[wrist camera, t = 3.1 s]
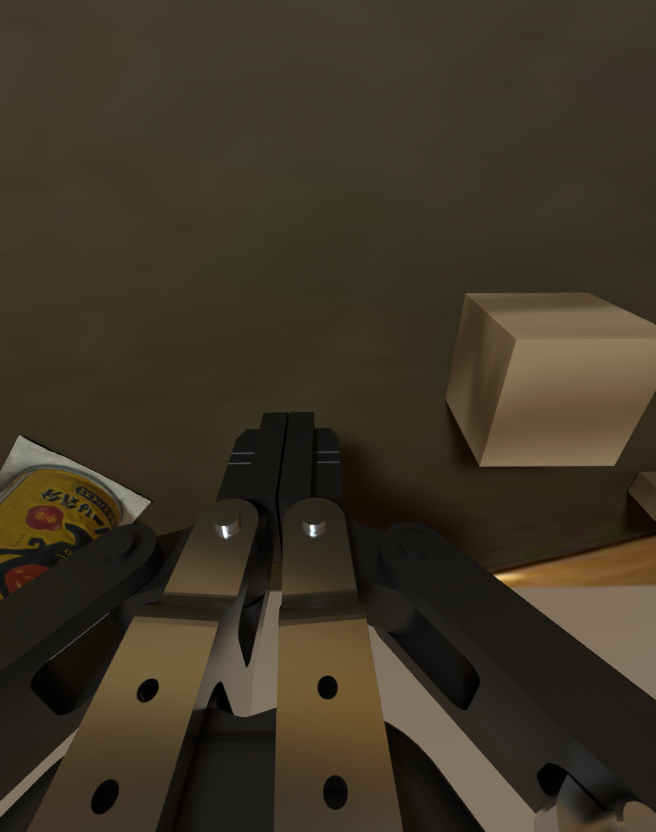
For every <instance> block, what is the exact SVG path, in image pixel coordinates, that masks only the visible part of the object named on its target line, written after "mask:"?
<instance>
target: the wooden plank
mask: <svg viewBox="0 0 656 832" xmlns="http://www.w3.org/2000/svg"><path fill="white" fill-rule="evenodd" d="M628 492H629V493H630V494H631V495H632V497H633V498H634V499H635V500H636V501H637V502H638V503H639V504H640V505H641V506H642V507H643V508H644V509H645V511H646V512H647V513H648V514H649V515H650V516H651V517H652V518H653V519H654V520H655V521H656V472H639V474H638V475H637V477H636V479H635V480H634V482H633V483H632V485H631V487H630V488H629V490H628Z"/></svg>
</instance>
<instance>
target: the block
mask: <svg viewBox="0 0 656 832" xmlns="http://www.w3.org/2000/svg"><path fill="white" fill-rule="evenodd" d="M655 391H656V325H655V324H653V323H651V322H649V321H647V320H644V319H642V318H640V317H638V316H636V315H634V314H632V313H630V312H628V311H626V310H623V309H621V308H619V307H617V306H615V305H613V304H611V303H609V302H607V301H605V300H603V299H600V298H598V297H596V296H594V295H592V294H590V293H466V294H465V299H464V304H463V309H462V315H461V320H460V325H459V330H458V335H457V340H456V345H455V350H454V356H453V361H452V366H451V371H450V376H449V381H448V386H447V391H446V396H445V399H446V401H447V403H448V405H449V407H450V409H451V411H452V413H453V415H454V417H455V419H456V421H457V423H458V425H459V427H460V429H461V431H462V433H463V435H464V437H465V438H466V440H467V442H468V444H469V446H470V448H471V450H472V452H473V454H474V456H475V458H476V460H477V462H478V464H479V466H614V465H615V463H616V461H617V459H618V458H619V456H620V454H621V452H622V450H623V449H624V447H625V445H626V443H627V441H628V440H629V438H630V436H631V434H632V432H633V430H634V429H635V427H636V425H637V423H638V421H639V420H640V418H641V416H642V414H643V412H644V411H645V409H646V407H647V405H648V403H649V402H650V400H651V398H652V396H653V394H654V392H655Z"/></svg>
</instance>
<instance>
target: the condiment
mask: <svg viewBox="0 0 656 832" xmlns="http://www.w3.org/2000/svg"><path fill="white" fill-rule="evenodd" d="M150 503H151V501H149V500H147V499H146V498H143V497H141V496H139V495H137V494H136V493H133V492H132V491H131V490H129V489H126V488H124V487H122V486H121V485H120V484H118V483H116V482H114V481H112V480H110V479H108V478H106V477H104V476H102V475H101V474H99V473H97V472H95V471H93V470H90V469H88V468H86V467H84V466H82V465H80V464H77V463H75V462H74V461H72V460H70V459H68V458H66V457H64V456H61V455H58V454H56V453H54V452H50V451H48V450H46V449H45V448H43V447H41V446H38V445H36V444H34V443H32V442H30V441H28V440H27V439H25V438H23V437H21V436H19V437H18V439H17V441H16V443H15V445H14V447H13V448H12V450H11V453H10V455H9V456H8V458H7V460H6V462H5V464H4V466H3V468H2V470H1V471H0V600H2V599H3V598H5V597H6V596H8V595H9V594H11V593H12V592H14V591H16V590H17V589H19V588H20V587H22V586H23V585H25V584H26V583H28V582H30V581H31V580H33V579H34V578H36V577H37V576H39V575H40V574H42V573H44V572H45V571H47V570H48V569H50V568H51V567H53V566H54V565H56V564H58V563H59V562H61V561H62V560H64V559H65V558H67V557H68V556H70V555H72V554H73V553H75V552H76V551H78V550H79V549H81V548H82V547H84V546H86V545H87V544H89V543H90V542H92V541H93V540H95V539H96V538H98V537H100V536H101V535H103V534H104V533H106V532H108V531H109V530H111V529H114V528H116V527H119V526H122V525H126V524H132V523H133V522H134V521H135V519H136V518H137V517H138V516H139V515H140V514H141V513H142V511H143V510H144V509H145V508H146V507H147V506H148V505H149V504H150Z"/></svg>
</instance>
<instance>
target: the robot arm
mask: <svg viewBox="0 0 656 832" xmlns="http://www.w3.org/2000/svg"><path fill="white" fill-rule="evenodd" d="M282 562H283V565H282V605H281V606H280V609H279V627H278V668H277V669H278V670H277V708H274V709H271V710H268V711H265V712H262V713H259V714H256V715H253V716H250V709H251V700H252V678H253V671H254V666H255V661H256V656H257V651H258V646H259V642H260V637H261V632H262V627H263V622H264V617H265V612H266V608H267V602H268V598H269V592H270V587H269V583H270V577H271V569H272V563H282ZM108 613H109V614H108ZM107 614H108V615H107ZM105 615H107V616H105ZM104 616H105V617H104ZM103 617H104V618H103ZM101 618H103V619H102V620H100V619H101ZM99 620H100V621H99ZM98 621H99V622H98ZM96 622H98V623H97V624H95V623H96ZM94 624H95V625H94ZM93 625H94V626H93ZM367 625H370V626H373V627H374V628H375V631H376V632H377V634H378V635H379V637H380V638H381V639H382V640H383V641H384V642H385V643H386V645H387V646H388V647H389V648H390V649H391V650H392V652H393V653H394V654H395V655H396V656H397V657H398V658H399V659H400V661H402V663H403V664H404V665H405V666H406V667H407V669H408V670H409V671H410V672H411V673H412V674H413V675H414V676H415V678H416V679H417V680H418V681H419V682H420V683H421V684H422V686H423V687H424V688H425V689H426V690H427V691H428V692H429V693H430V695H431V696H432V697H433V698H434V699H435V700H436V701H437V703H438V704H439V705H440V706H441V707H442V708H443V709H444V710H445V712H446V713H447V714H448V715H449V716H450V717H451V718H452V719H453V721H454V722H455V723H456V724H457V725H458V726H459V727H460V729H461V730H462V731H463V732H464V733H465V734H466V735H467V737H469V739H470V740H471V741H472V742H473V743H474V744H475V746H476V747H477V748H478V749H479V750H480V751H481V752H482V754H483V755H484V756H485V757H486V758H487V759H488V760H489V761H490V763H491V764H492V765H493V766H494V767H495V768H496V769H497V770H498V772H499V773H500V774H501V775H502V776H503V777H504V778H505V780H506V781H507V782H508V783H509V784H510V785H511V786H512V788H513V789H514V790H515V791H516V792H517V793H518V794H519V795H520V797H521V798H522V799H523V800H524V801H525V802H526V803H527V804H528V806H529V807H530V808H531V809H532V810H533V811H534V812H535V814H536V817H535V821H534V832H656V700H655V699H653V698H652V697H651V696H650V695H648V694H647V693H646V692H644V691H643V690H642V689H641V688H639V687H638V686H637V685H635V684H634V683H633V682H631V681H630V680H629V679H627V678H626V677H625V676H624V675H622V674H621V673H620V672H618V671H617V670H616V669H614V668H613V667H612V666H610V665H609V664H608V663H607V662H605V661H604V660H603V659H601V658H600V657H599V656H598V655H596V654H595V653H594V652H592V651H591V650H590V649H588V648H587V647H586V646H585V645H583V644H582V643H581V642H579V641H578V640H577V639H575V638H574V637H573V636H572V635H570V634H569V633H567V632H566V631H565V630H564V629H562V628H561V627H560V626H559V625H557V624H556V623H555V622H553V621H552V620H551V619H549V618H548V617H547V616H546V615H544V614H543V613H542V612H540V611H539V610H538V609H536V608H535V607H534V606H532V605H531V604H530V603H529V602H527V601H526V600H525V599H523V598H522V597H521V596H519V595H518V594H517V593H515V592H514V591H513V590H512V589H510V588H509V587H508V586H506V585H505V584H504V583H503V582H501V581H500V580H499V579H497V578H496V577H495V576H493V575H492V574H491V573H490V572H488V571H487V570H486V569H484V568H483V567H482V566H480V565H479V564H478V563H477V562H475V561H474V560H473V559H471V558H470V557H469V556H467V555H466V554H465V553H463V552H462V551H461V550H460V549H458V548H457V547H456V546H454V545H453V544H452V543H450V542H449V541H448V540H447V539H445V538H444V537H443V536H441V535H440V534H439V533H437V532H436V531H435V530H433V529H432V528H430V527H429V526H427V525H425V524H422V523H419V522H414V521H402V522H397V523H395V524H392V525H391V526H389V527H388V528H387V529H386V530H385V531H381V530H378V529H374V528H370V527H367V526H364V525H362V524H360V523H358V522H357V521H355V520H354V519H353V518H351V517H350V516H349V514H348V513H347V512H346V510H345V508H344V506H343V500H342V483H341V467H340V452H339V438H338V437H337V436H336V434H335V433H334V432H333V430H332V429H331V428H316V429H314V412H290V414H289V413H264V414H263V417H262V422H261V426H260V429H246V430H245V431H244V432H243V433H242V434H241V435H240V436H239V437H238V438H237V439H236V441H235V445H234V448H233V451H232V455H231V457H230V460H229V465H228V466H227V469H226V472H225V475H224V478H223V482H222V485H221V488H220V491H219V494H218V497H217V500H216V503H214V504H212V505H210V506H209V507H207V508H206V509H205V510H204V511H203V512H202V513H201V514H200V515H199V517H198V519H197V521H196V523H195V525H193V526H191V527H188V528H186V529H183V530H179V531H176V532H172V533H168V534H165V535H161V536H157V537H156V534H155V532H154V531H153V530H152V529H151V528H150V527H149V526H146V525H144V524H126V525H122V526H119V527H116V528H114V529H111V530H109V531H108V532H106V533H104V534H103V535H101V536H100V537H98V538H96V539H95V540H93V541H92V542H90V543H89V544H87V545H86V546H84V547H82V548H81V549H79V550H78V551H76V552H75V553H73V554H72V555H70V556H68V557H67V558H65V559H64V560H62V561H61V562H59V563H58V564H56V565H54V566H53V567H51V568H50V569H48V570H47V571H45V572H44V573H42V574H40V575H39V576H37V577H36V578H34V579H33V580H31V581H30V582H28V583H26V584H25V585H23V586H22V587H20V588H19V589H17V590H16V591H14V592H12V593H11V594H9V595H8V596H6V597H5V598H3V599H2V600H0V801H1V800H2V799H3V798H4V797H5V796H6V795H7V794H8V793H9V792H10V791H12V790H13V789H14V788H15V787H16V786H17V785H18V784H19V783H20V782H21V781H22V780H23V779H24V778H25V777H26V776H27V775H28V774H30V773H31V772H32V771H33V770H34V769H35V768H36V767H37V766H38V765H39V764H40V763H41V762H42V761H43V760H44V759H45V758H46V757H48V756H49V755H50V754H51V753H52V752H53V751H54V750H55V749H56V748H57V747H58V746H59V745H60V744H61V743H62V742H63V741H65V740H66V738H68V737H69V736H70V735H71V734H72V733H73V732H74V731H75V730H76V729H77V728H78V727H79V728H78V730H77V732H76V734H75V736H74V738H73V740H72V742H71V744H70V746H69V748H68V750H67V752H66V754H65V755H64V756H63V757H62V758H61V759H59V760H58V761H57V762H56V763H55V764H54V765H52V766H51V767H50V768H49V769H48V770H47V771H46V772H45V773H44V774H43V775H42V776H41V777H40V778H39V779H38V780H37V781H36V782H35V783H34V784H33V785H32V786H31V787H30V788H29V789H28V790H27V791H26V792H25V793H24V794H23V795H22V796H21V797H20V798H19V799H18V800H17V801H16V802H15V803H14V804H13V805H12V806H11V807H10V808H9V809H8V810H7V811H6V812H5V813H4V814H3V815H2V816H1V817H0V832H485V830H484V829H483V828H482V827H481V825H480V824H479V822H478V821H477V820H476V818H475V817H474V816H473V814H472V813H471V811H470V810H469V809H468V808H467V806H466V805H465V803H464V802H463V801H462V799H461V798H460V797H459V796H458V794H457V793H456V791H455V790H454V789H453V787H452V786H451V785H450V783H449V782H448V780H447V779H446V778H445V776H444V775H443V774H442V772H441V771H440V770H439V768H438V767H437V766H436V765H435V763H434V762H433V761H432V759H431V758H430V757H429V756H428V755H427V754H426V753H425V752H424V751H423V750H422V749H421V748H420V746H419V745H418V744H416V743H415V742H414V741H413V740H412V739H410V738H409V737H408V736H407V735H406V734H405V733H403V732H402V731H400V730H399V729H397V728H396V727H394V726H393V725H391V724H390V723H387V722H385V721H384V719H383V712H382V706H381V700H380V695H379V689H378V683H377V677H376V672H375V666H374V660H373V654H372V649H371V643H370V638H369V632H368V626H367ZM91 626H93V627H92V628H90V627H91ZM89 628H90V629H89ZM88 629H89V630H88ZM86 630H88V631H86ZM85 631H86V632H85ZM84 632H85V633H84ZM82 633H84V634H83V635H81V634H82ZM80 635H81V636H80ZM79 636H80V637H79ZM77 637H79V638H78V639H76V638H77ZM75 639H76V640H75ZM74 640H75V641H74ZM72 641H74V642H73V643H71V642H72ZM70 643H71V644H70ZM68 644H70V645H69V646H68V647H66V646H67V645H68ZM65 647H66V648H65ZM63 648H65V649H64V650H62V649H63ZM61 650H62V651H61ZM60 651H61V652H60ZM58 652H60V653H59V654H57V653H58ZM56 654H57V655H56ZM55 655H56V656H55ZM53 656H55V657H54V658H52V657H53ZM51 658H52V659H51ZM50 659H51V660H50ZM48 660H49V661H48ZM47 661H48V662H47Z"/></svg>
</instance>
